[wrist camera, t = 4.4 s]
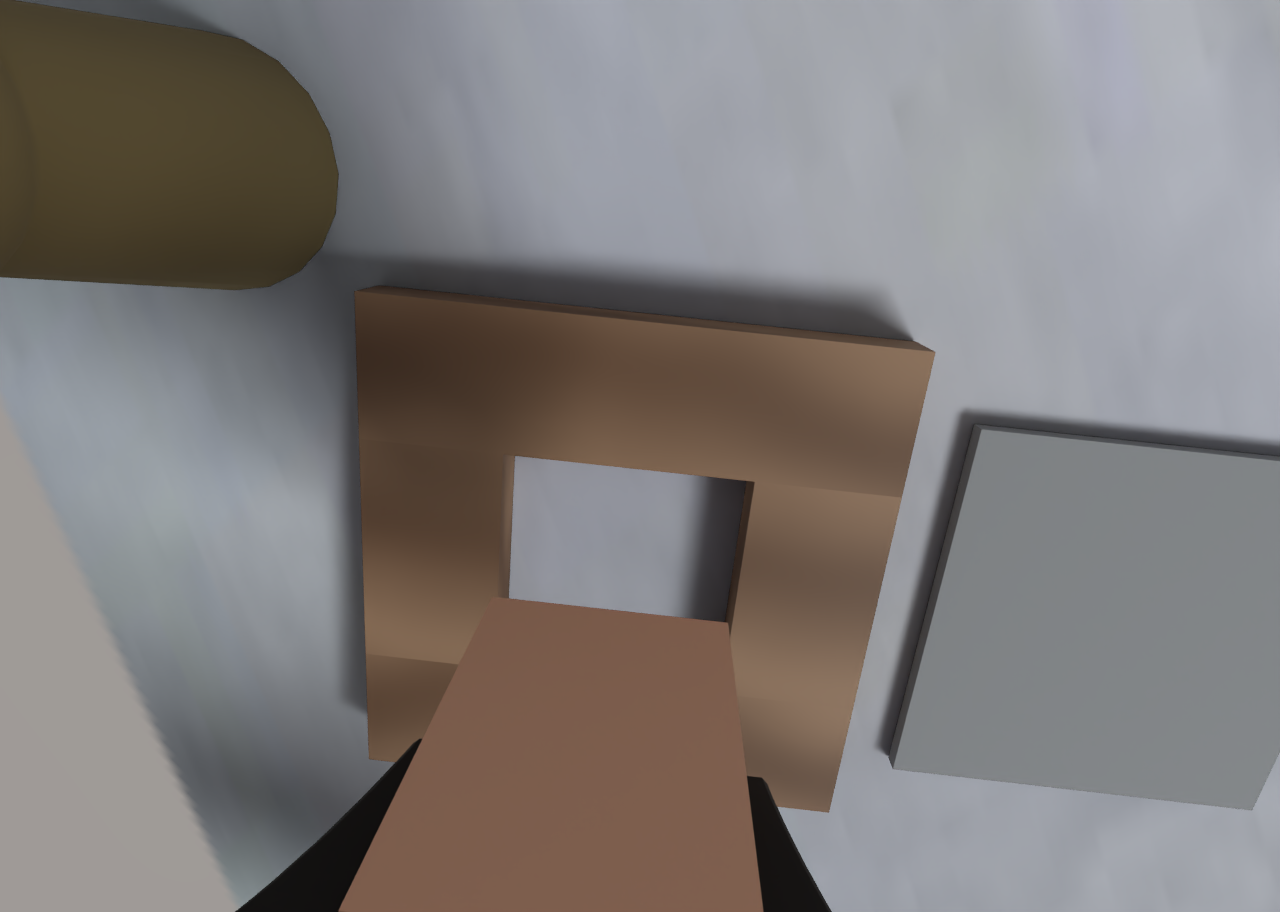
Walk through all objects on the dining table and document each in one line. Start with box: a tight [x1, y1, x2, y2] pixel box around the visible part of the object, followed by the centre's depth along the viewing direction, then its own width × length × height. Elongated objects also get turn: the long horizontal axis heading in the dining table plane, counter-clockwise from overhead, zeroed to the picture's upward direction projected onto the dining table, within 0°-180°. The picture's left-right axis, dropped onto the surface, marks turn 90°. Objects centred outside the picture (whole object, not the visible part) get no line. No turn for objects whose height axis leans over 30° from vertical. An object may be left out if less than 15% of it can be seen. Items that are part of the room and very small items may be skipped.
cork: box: [0, 0, 338, 290], centre depth 13 cm, size 6×6×11 cm
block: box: [339, 597, 763, 912], centre depth 11 cm, size 4×4×6 cm
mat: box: [888, 424, 1280, 810], centre depth 21 cm, size 11×11×1 cm
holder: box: [354, 285, 935, 812], centre depth 20 cm, size 14×14×2 cm
